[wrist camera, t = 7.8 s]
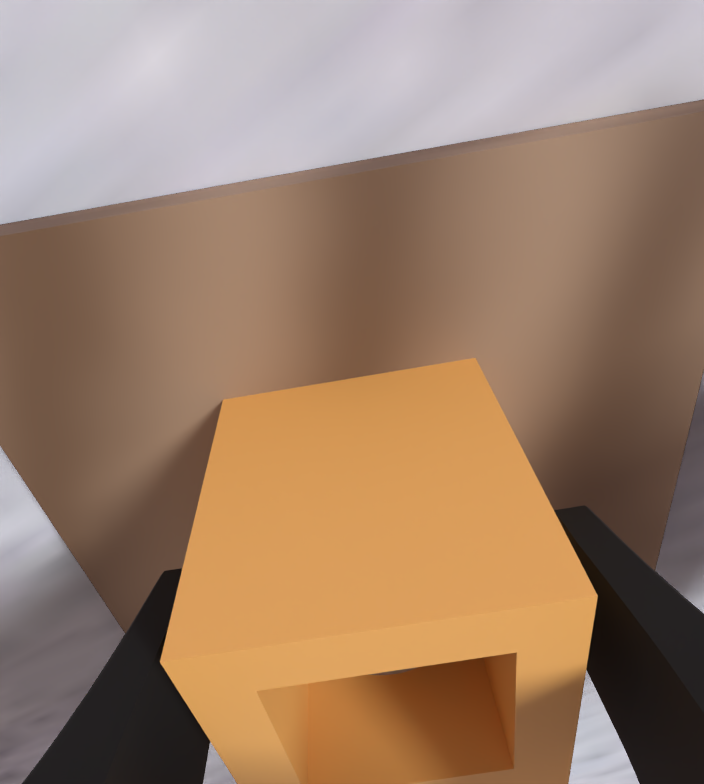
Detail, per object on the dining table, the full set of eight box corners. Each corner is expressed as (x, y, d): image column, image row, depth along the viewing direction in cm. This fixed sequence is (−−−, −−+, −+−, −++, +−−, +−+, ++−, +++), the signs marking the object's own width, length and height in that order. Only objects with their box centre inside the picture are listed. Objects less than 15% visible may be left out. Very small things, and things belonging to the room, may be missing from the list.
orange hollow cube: (475, 357, 12) (598, 596, 7) (480, 532, 15) (567, 785, 10) (222, 399, 12) (160, 661, 7) (280, 564, 15) (265, 827, 10)
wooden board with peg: (731, 94, 10) (1081, 141, 6) (632, 572, 18) (744, 757, 13) (-90, 240, 11) (-396, 395, 6) (158, 643, 18) (108, 846, 14)
